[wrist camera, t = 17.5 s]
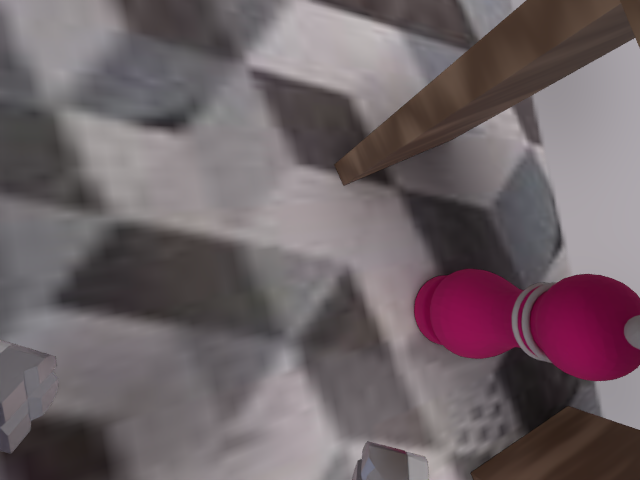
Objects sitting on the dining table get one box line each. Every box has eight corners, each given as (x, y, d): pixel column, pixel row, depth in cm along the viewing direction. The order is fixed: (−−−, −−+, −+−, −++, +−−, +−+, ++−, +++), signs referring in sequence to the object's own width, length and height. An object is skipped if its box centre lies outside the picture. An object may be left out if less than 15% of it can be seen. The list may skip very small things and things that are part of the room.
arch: (334, 164, 40) (660, -115, 12) (444, 120, 43) (903, -181, 15) (479, 493, 40) (1107, 965, 12) (576, 424, 44) (1244, 678, 16)
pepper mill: (476, 268, 42) (709, 258, 23) (481, 347, 42) (724, 403, 23) (406, 271, 40) (596, 262, 21) (410, 353, 40) (609, 420, 21)
